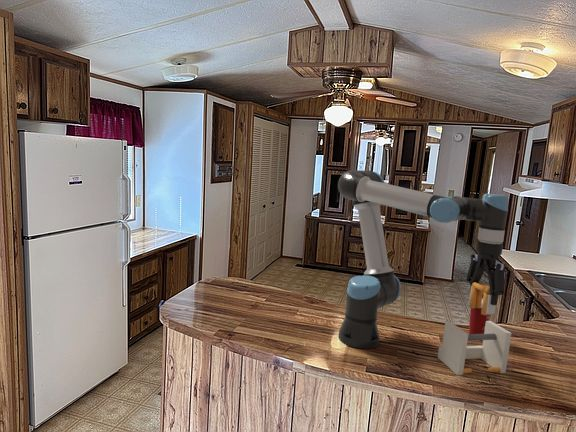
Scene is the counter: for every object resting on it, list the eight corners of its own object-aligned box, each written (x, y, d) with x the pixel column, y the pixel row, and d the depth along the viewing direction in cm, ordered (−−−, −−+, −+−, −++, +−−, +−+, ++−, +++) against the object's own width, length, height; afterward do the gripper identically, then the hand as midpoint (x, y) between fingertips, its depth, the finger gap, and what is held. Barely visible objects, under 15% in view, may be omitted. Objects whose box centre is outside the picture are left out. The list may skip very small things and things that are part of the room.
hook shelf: (457, 375, 129) (463, 334, 127) (437, 357, 140) (442, 319, 138) (505, 373, 132) (511, 333, 130) (481, 356, 143) (487, 319, 142)
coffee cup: (490, 342, 155) (496, 306, 153) (468, 339, 157) (473, 303, 155) (484, 333, 164) (489, 299, 162) (463, 330, 165) (468, 296, 163)
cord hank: (494, 315, 129) (498, 288, 128) (483, 315, 128) (487, 288, 127) (478, 306, 137) (481, 281, 135) (468, 306, 136) (471, 281, 135)
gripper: (524, 248, 120) (514, 320, 123) (479, 235, 140) (471, 298, 143) (503, 248, 118) (493, 321, 121) (460, 235, 139) (452, 298, 141)
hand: (481, 308), depth 132 cm, fingers closed on cord hank, 8 cm apart
